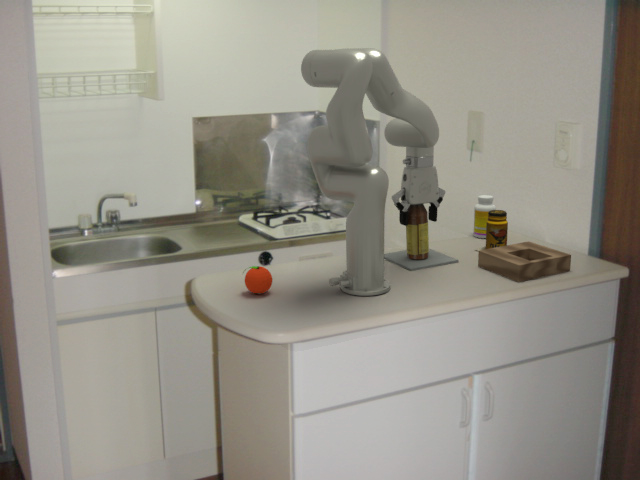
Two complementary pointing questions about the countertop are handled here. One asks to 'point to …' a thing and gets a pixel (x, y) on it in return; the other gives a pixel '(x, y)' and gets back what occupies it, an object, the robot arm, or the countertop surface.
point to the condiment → (496, 229)
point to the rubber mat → (410, 264)
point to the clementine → (258, 279)
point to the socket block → (524, 261)
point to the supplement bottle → (482, 214)
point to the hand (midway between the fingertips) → (418, 222)
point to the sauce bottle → (417, 232)
